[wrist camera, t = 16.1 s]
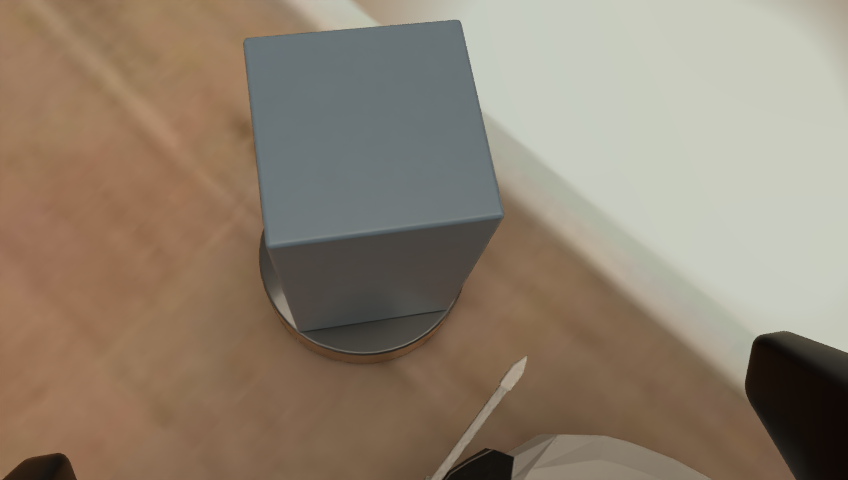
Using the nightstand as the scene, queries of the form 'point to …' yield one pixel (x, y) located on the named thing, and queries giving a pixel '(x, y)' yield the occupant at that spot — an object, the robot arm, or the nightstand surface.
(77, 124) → the nightstand surface
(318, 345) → the disc
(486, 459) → the robot toy
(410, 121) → the top block
